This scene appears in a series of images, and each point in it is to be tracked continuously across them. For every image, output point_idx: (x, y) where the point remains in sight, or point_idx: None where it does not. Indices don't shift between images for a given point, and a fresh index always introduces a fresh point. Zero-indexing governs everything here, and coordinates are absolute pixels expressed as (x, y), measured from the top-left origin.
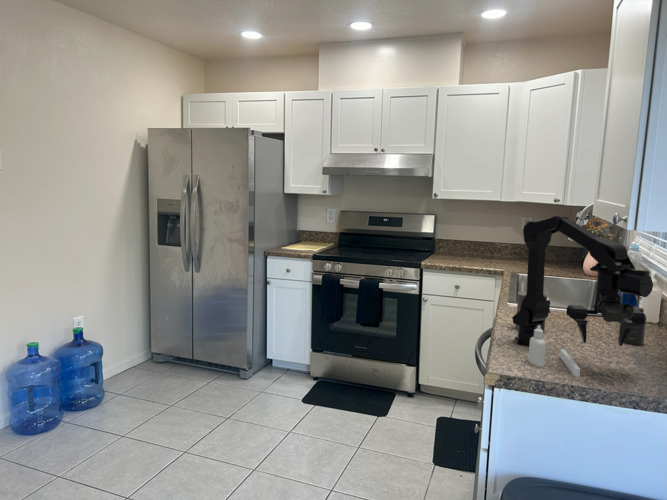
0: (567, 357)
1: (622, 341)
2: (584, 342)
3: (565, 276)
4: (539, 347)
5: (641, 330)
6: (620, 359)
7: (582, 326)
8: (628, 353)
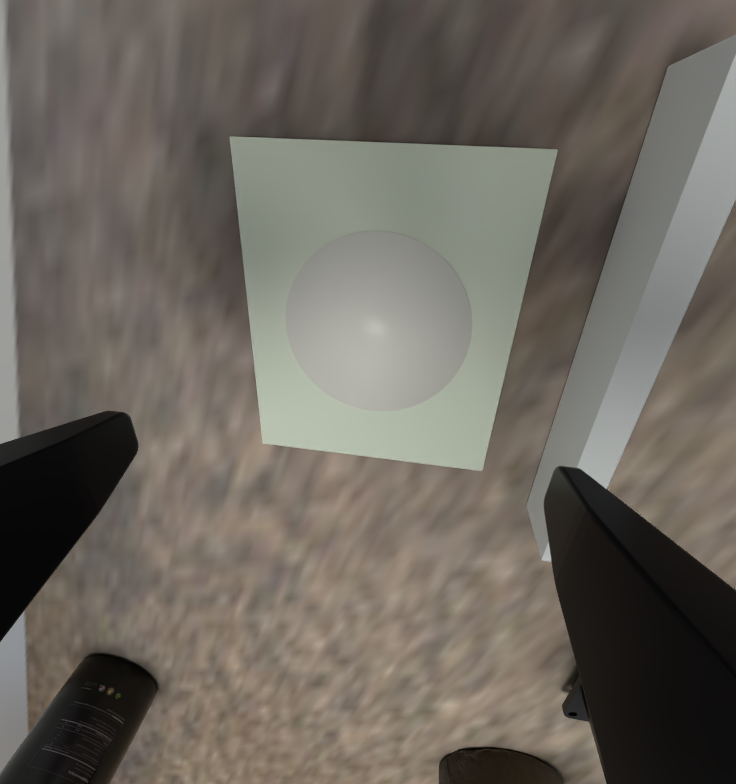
0: (633, 411)
1: (51, 434)
2: (576, 470)
3: None
4: None
5: (41, 731)
6: (195, 527)
7: None
8: (147, 589)
